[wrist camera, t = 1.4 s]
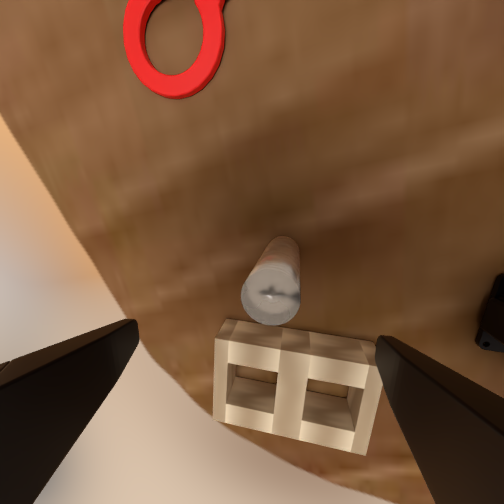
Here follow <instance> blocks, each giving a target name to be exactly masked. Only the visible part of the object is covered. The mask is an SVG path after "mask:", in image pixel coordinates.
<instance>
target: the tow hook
mask: <svg viewBox="0 0 504 504" xmlns="http://www.w3.org/2000/svg"><path fill="white" fill-rule="evenodd" d="M160 1H162V0H129V1H128V4H127V7H126V10H125V16H124V23H123V35H124V45H125V50H126V54H127V58H128V60H129V62H130V65H131V67H132V69H133V71H134V73H135V74H136V75H137V77H138V78H139V79H140V81H141V82H142V83H143V84H144V85H145V86H147V87H148V88H149V89H151V90H152V91H153V92H155V93H156V94H159V95H161V96H164V97H166V98H172V99H182V98H186V97H189V96H192V95H194V94H195V93H197V92H199V91H200V90H202V89H203V88H204V87H205V86H206V85H207V83H208V82H209V81H210V80H211V79H212V78H213V76H214V74H215V72H216V70H217V68H218V66H219V64H220V61H221V57H222V53H223V50H224V39H225V27H224V21H223V14H222V9H223V5H224V2H225V0H194V1H195V5H196V6H197V8H198V10H199V12H200V15H201V17H202V23H203V29H204V30H203V43H202V47H201V51H200V53H199V55H198V57H197V59H196V61H195V62H194V63H193V65H192V66H191V67H190V68H189V69H188V70H186V71H185V72H183V73H181V74H178V75H165V74H162V73H160V72H158V71H157V70H156V69H155V68H154V66H153V65H152V64H151V62H150V60H149V58H148V55H147V52H146V48H145V28H146V23H147V20H148V18H149V15H150V13H151V11H152V10H153V9H154V7H155V6H156V5H157V4H158V3H159V2H160Z"/></svg>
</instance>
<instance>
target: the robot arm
mask: <svg viewBox="0 0 504 504" xmlns="http://www.w3.org/2000/svg"><path fill="white" fill-rule="evenodd" d="M484 342H486V343H485V344H483V343H484ZM138 343H139V331H138V323H137V321H136V320H135V319H124V320H120V321H118V322H115V323H112V324H109V325H107V326H104V327H101V328H98V329H96V330H93V331H90V332H87V333H84V334H82V335H79V336H76V337H73V338H71V339H68V340H65V341H62V342H60V343H57V344H54V345H52V346H49V347H46V348H43V349H40V350H38V351H35V352H32V353H29V354H27V355H24V356H21V357H18V358H16V359H13V360H12V361H11V362H10V361H8V362H5V363H2V364H0V504H33V503H34V501H35V500H36V498H37V497H38V496H39V494H40V493H41V491H42V490H43V488H44V487H45V485H46V484H47V482H48V481H49V479H50V478H51V477H52V475H53V474H54V472H55V471H56V469H57V468H58V467H59V465H60V464H61V462H62V461H63V459H64V458H65V456H66V455H67V454H68V452H69V450H70V449H71V448H72V446H73V444H74V443H75V442H76V440H77V439H78V437H79V436H80V435H81V433H82V432H83V430H84V429H85V427H86V426H87V424H88V423H89V422H90V420H91V419H92V417H93V416H94V414H95V413H96V411H97V410H98V409H99V407H100V406H101V404H102V403H103V401H104V400H105V398H106V397H107V395H108V394H109V392H110V391H111V390H112V388H113V387H114V385H115V384H116V382H117V381H118V379H119V377H120V376H121V374H122V372H123V370H124V369H125V367H126V365H127V363H128V362H129V360H130V358H131V356H132V354H133V353H134V351H135V349H136V347H137V345H138ZM476 344H477V345H478V346H479V347H480V348H482V349H484V350H491V351H497V352H504V274H501V275H499V276H498V277H497V279H496V282H495V285H494V288H493V291H492V294H491V297H490V300H489V302H488V305H487V308H486V311H485V314H484V317H483V320H482V323H481V326H480V329H479V332H478V335H477V338H476ZM375 363H376V366H377V369H378V371H379V374H380V377H381V380H382V383H383V386H384V389H385V392H386V395H387V398H388V400H389V403H390V406H391V408H392V410H393V413H394V415H395V417H396V419H397V421H398V423H399V426H400V428H401V430H402V432H403V434H404V436H405V439H406V441H407V443H408V445H409V447H410V449H411V452H412V454H413V456H414V458H415V460H416V462H417V465H418V467H419V469H420V471H421V473H422V475H423V477H424V480H425V482H426V484H427V486H428V488H429V490H430V493H431V495H432V497H433V499H434V501H435V503H436V504H504V398H502V397H500V396H498V395H496V394H495V393H493V392H491V391H489V390H487V389H486V388H484V387H482V386H480V385H479V384H477V383H475V382H473V381H471V380H470V379H468V378H466V377H464V376H462V375H461V374H459V373H457V372H455V371H453V370H452V369H450V368H448V367H446V366H444V365H443V364H441V363H439V362H437V361H435V360H434V359H432V358H430V357H428V356H427V355H425V354H423V353H421V352H419V351H418V350H416V349H414V348H412V347H410V346H409V345H407V344H405V343H403V342H401V341H400V340H398V339H396V338H394V337H392V336H384V335H380V336H379V337H378V339H377V344H376V350H375Z"/></svg>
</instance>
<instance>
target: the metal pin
mask: <svg viewBox="0 0 504 504" xmlns="http://www.w3.org/2000/svg"><path fill="white" fill-rule="evenodd" d="M241 301H242V305H243V307H244V309H245V311H246V312H247V314H248V315H249V316H250V317H251V318H253V319H254V320H256V321H257V322H259V323H262V324H265V325H280V324H283V323H286V322H288V321H289V320H291V319H292V318H293V317H294V316H295V314H296V313H297V311H298V309H299V307H300V254H299V247H298V245H297V243H296V242H295V241H294V240H293V239H291V238H289V237H286V236H279V237H276V238H274V239H272V240H271V241H270V242H269V244H268V245H267V247H266V249H265V250H264V252H263V254H262V255H261V257H260V259H259V260H258V262H257V263H256V265H255V267H254V268H253V270H252V272H251V273H250V275H249V276H248V278H247V280H246V281H245V283H244V285H243V287H242V291H241Z"/></svg>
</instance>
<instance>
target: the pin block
mask: <svg viewBox="0 0 504 504" xmlns="http://www.w3.org/2000/svg"><path fill="white" fill-rule="evenodd" d="M375 350H376V347H375V345H374V343H373V342H372V341H366V340H359V339H353V338H347V337H340V336H334V335H328V334H322V333H315V332H309V331H303V330H296V329H290V328H284V327H277V326H271V325H265V324H258V323H252V322H246V321H239V320H233V319H226V320H225V322H224V324H223V325H222V327H221V329H220V331H219V332H218V334H217V336H216V337H215V355H214V392H213V420H216V421H220V422H225V423H229V424H233V425H237V426H242V427H246V428H250V429H254V430H259V431H263V432H267V433H271V434H276V435H280V436H284V437H288V438H293V439H297V440H301V441H305V442H310V443H314V444H318V445H322V446H327V447H331V448H335V449H339V450H344V451H348V452H352V453H357V454H361V455H365V456H366V452H367V448H368V444H369V439H370V435H371V431H372V427H373V423H374V418H375V414H376V410H377V406H378V402H379V397H380V393H381V389H382V385H383V383H382V380H381V377H380V374H379V371H378V369H377V366H376V363H375ZM236 364H237V365H242V366H247V367H252V368H258V369H263V370H268V371H273V372H278V378H277V385H276V384H271V383H266V382H261V381H256V380H251V379H246V378H241V377H236V376H235V375H236ZM308 378H310V379H315V380H321V381H326V382H331V383H336V384H341V385H347V386H349V390H348V395H347V399H346V398H341V397H336V396H331V395H326V394H321V393H316V392H311V391H306V387H307V380H308Z"/></svg>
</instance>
